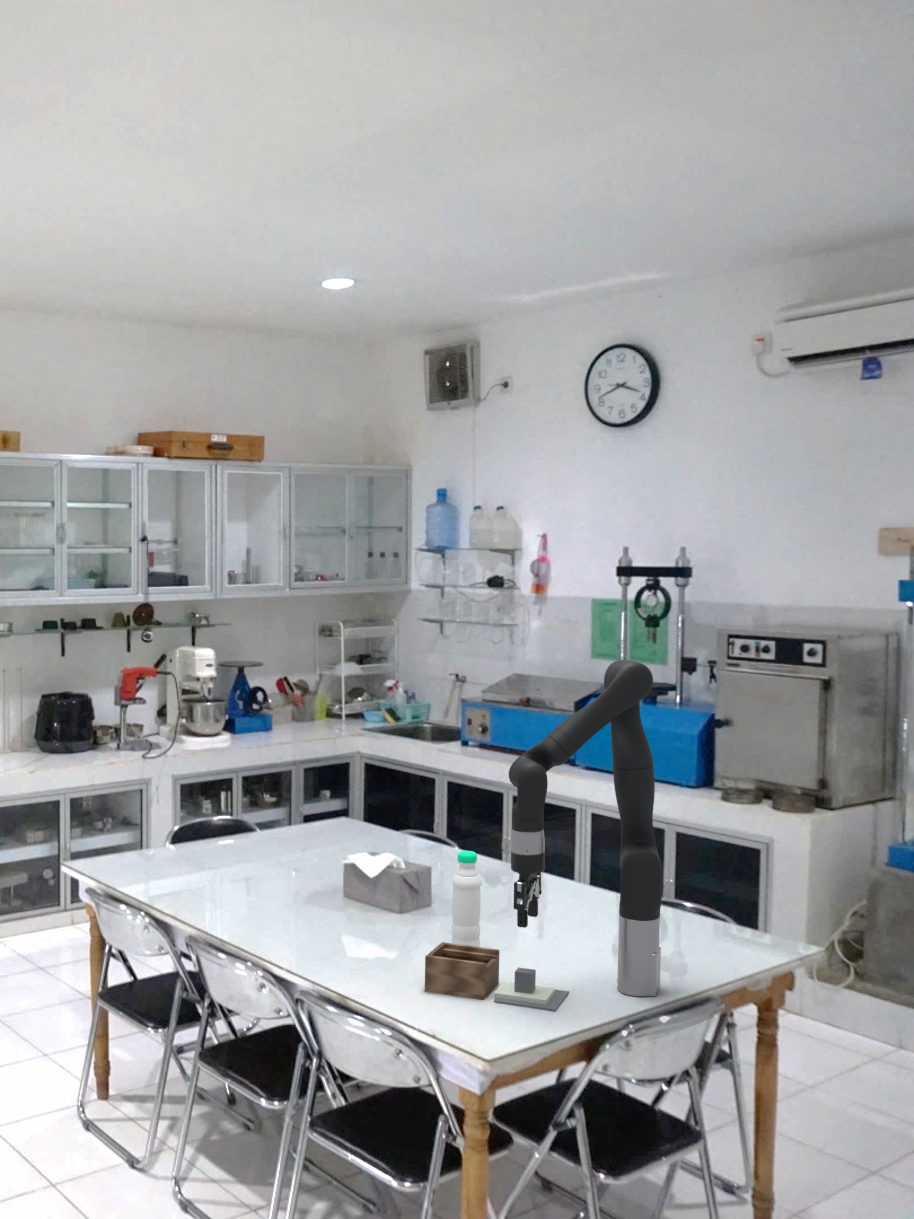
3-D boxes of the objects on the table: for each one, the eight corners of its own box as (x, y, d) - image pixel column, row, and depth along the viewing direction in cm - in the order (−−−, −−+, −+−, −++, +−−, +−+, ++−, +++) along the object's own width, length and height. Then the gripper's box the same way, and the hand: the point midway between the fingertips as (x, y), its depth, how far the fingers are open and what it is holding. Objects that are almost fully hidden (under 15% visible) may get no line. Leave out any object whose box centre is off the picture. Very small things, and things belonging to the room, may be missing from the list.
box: (498, 984, 281) (499, 949, 280) (483, 1000, 270) (484, 964, 270) (441, 975, 285) (442, 942, 285) (424, 991, 275) (425, 956, 275)
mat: (569, 993, 276) (569, 991, 276) (555, 1011, 264) (555, 1009, 264) (509, 984, 280) (509, 983, 280) (493, 1002, 269) (493, 1000, 269)
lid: (555, 992, 275) (555, 968, 274) (546, 1004, 267) (546, 979, 267) (504, 985, 278) (504, 961, 278) (493, 997, 271) (494, 972, 271)
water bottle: (455, 957, 298) (457, 856, 297) (447, 948, 305) (449, 849, 304) (483, 955, 300) (485, 854, 299) (474, 946, 307) (476, 848, 306)
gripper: (535, 858, 263) (535, 932, 264) (552, 843, 277) (552, 914, 277) (502, 855, 266) (502, 929, 266) (520, 841, 279) (520, 911, 280)
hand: (527, 921), depth 272 cm, fingers open, 8 cm apart
